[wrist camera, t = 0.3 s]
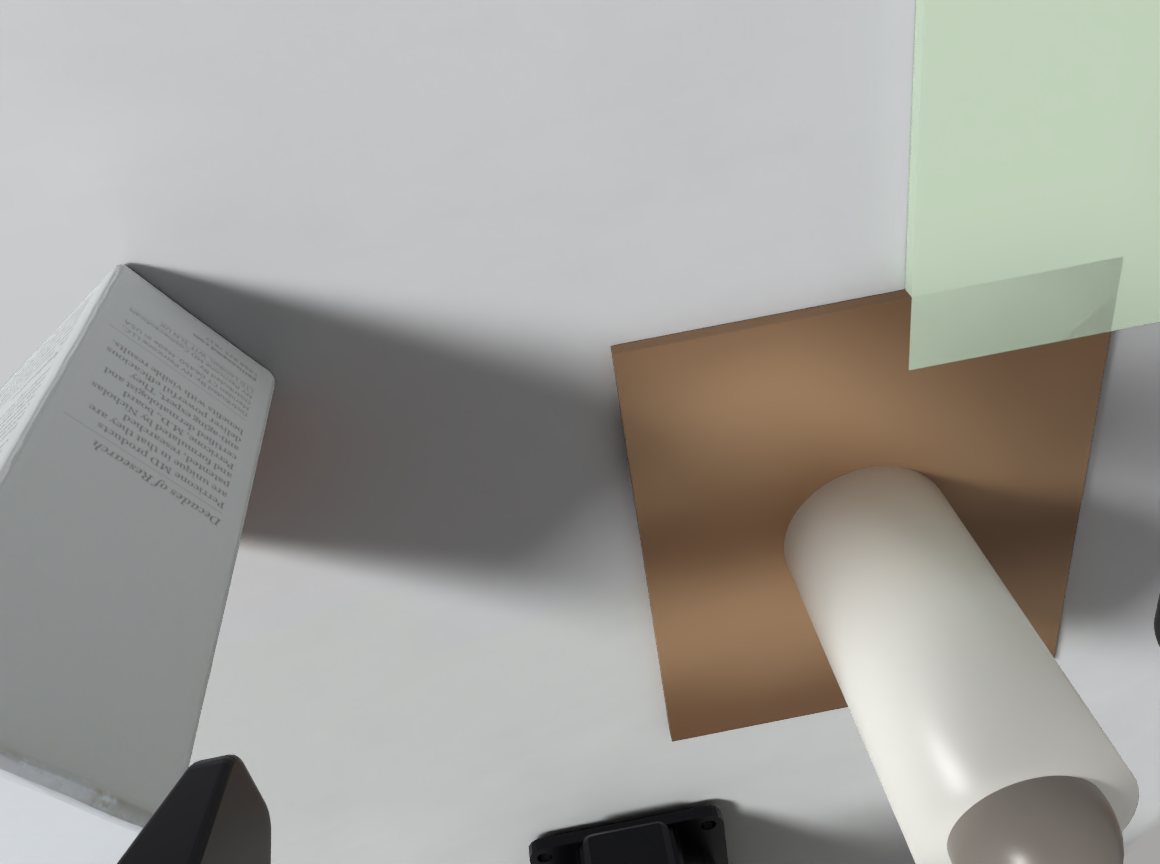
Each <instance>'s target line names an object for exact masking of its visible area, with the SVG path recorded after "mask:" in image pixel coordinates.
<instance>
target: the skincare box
mask: <svg viewBox="0 0 1160 864" xmlns="http://www.w3.org/2000/svg"><path fill="white" fill-rule="evenodd" d="M274 387H275V379H274V377H273V375H272V374H271V373H270V371H269V370H267V369H266V368H264V367H263V366H262V365H260V364H259V363H257V362H256V361H254V360H253V359H252V358H250V357H249V356H247V355H246V354H245V353H243V352H242V351H241V350H239V349H238V348H236V347H235V346H234V345H232V344H231V343H230V342H228V341H227V340H226V339H224V338H223V337H221V336H220V335H219V334H217V333H216V332H215V331H213V330H212V329H210V328H209V327H208V326H206V325H205V324H204V323H202V322H201V321H200V320H198V319H197V318H195V317H194V316H193V315H191V314H190V313H188V312H187V311H186V310H184V309H183V308H182V307H181V306H179V305H178V304H177V303H175V302H174V301H172V300H171V299H170V298H168V297H167V296H166V295H165V294H163V293H162V292H161V291H159V290H158V289H157V288H155V287H154V286H153V285H151V284H150V283H148V282H147V281H146V280H144V279H143V278H142V277H140V276H139V275H138V274H136V273H135V272H134V271H132V270H131V269H130V268H128V267H127V266H125V265H117V266H116V267H115V268H113V269H112V271H111V272H110V273H109V274H108V275H107V276H106V277H105V278H104V279H103V280H102V281H101V282H100V283H99V284H98V285H97V287H96V288H95V289H94V290H93V291H92V292H91V293H90V294H89V295H88V296H87V297H86V298H85V299H84V300H83V301H82V303H81V304H80V305H79V306H78V307H77V308H76V309H75V310H74V311H73V312H72V313H71V314H70V315H69V317H68V318H67V319H66V320H65V321H64V322H63V323H62V324H61V325H60V326H59V327H58V328H57V330H56V331H55V332H54V333H53V334H52V335H51V336H50V337H49V338H48V339H47V340H46V341H45V342H44V344H43V345H42V346H41V347H40V348H39V349H38V350H37V351H36V352H35V353H34V354H33V355H32V356H31V357H30V359H29V360H28V361H27V362H26V363H25V364H24V365H23V366H22V367H21V368H20V369H19V370H18V372H17V373H16V374H15V375H14V376H13V377H12V378H11V379H10V380H9V381H8V382H7V383H6V385H5V386H4V387H3V388H2V389H1V390H0V864H117V863H118V861H119V860H120V859H121V857H122V856H123V855H124V853H125V852H126V850H127V849H128V848H129V846H130V845H131V844H132V842H133V841H134V840H135V838H136V837H137V836H138V834H139V833H140V832H141V830H142V829H143V828H144V826H145V825H146V824H147V822H148V821H149V819H150V818H151V817H152V815H153V814H154V813H155V811H156V810H157V809H158V807H159V806H160V805H161V803H162V802H163V801H164V799H165V798H166V797H167V795H168V794H169V793H170V791H171V790H172V789H173V787H174V786H175V784H176V783H177V782H178V780H179V779H180V778H181V776H182V775H183V774H184V772H185V771H186V770H187V769H188V767H189V763H190V759H191V754H192V750H193V745H194V740H195V736H196V732H197V727H198V723H199V718H200V714H201V709H202V705H203V701H204V696H205V692H206V688H207V683H208V679H209V675H210V671H211V667H212V662H213V657H214V652H215V648H216V644H217V639H218V635H219V631H220V627H221V623H222V618H223V613H224V609H225V605H226V601H227V596H228V592H229V587H230V583H231V578H232V574H233V569H234V565H235V561H236V557H237V553H238V548H239V544H240V539H241V534H242V530H243V526H244V522H245V517H246V513H247V508H248V503H249V499H250V494H251V490H252V486H253V480H254V477H255V473H256V468H257V463H258V458H259V455H260V450H261V446H262V441H263V437H264V432H265V429H266V422H267V418H268V414H269V409H270V405H271V400H272V396H273V391H274Z"/></svg>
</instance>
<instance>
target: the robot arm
mask: <svg viewBox="0 0 1160 864" xmlns="http://www.w3.org/2000/svg"><path fill="white" fill-rule="evenodd" d="M1154 630H1155V635H1156V639H1157V641H1158V644H1159V646H1160V595H1159V600H1158V604H1157V609H1156V614H1155V619H1154ZM529 857H530V863H531V864H728V857H727V849H726V840H725V831H724V823H723V819H722V815H721V812H720V809H719V808H717V807H716V806H711V805H708V806H701V807H696V808H691V809H686V810H681V811H676V812H671V813H666V814H661V815H656V816H651V817H646V818H641V819H636V820H631V821H626V822H621V823H615V824H610V825H605V826H600V827H595V828H590V829H585V830H580V831H575V832H570V833H565V834H560V835H555V836H550V837H545V838H540V839H537V840H535V841H533V842H532V843H531V844H530V846H529ZM117 864H271V822H270V816H269V811H268V808H267V806H266V803H265V801H264V799H263V798H262V796H261V794H260V792H259V790H258V788H257V787H256V785H255V783H254V781H253V779H252V777H251V776H250V774H249V772H248V770H247V768H246V766H245V765H244V763H243V762H242V760H241V759H240V758H239V757H237V756H236V755H225V756H220V757H215V758H210V759H205V760H201V761H197V762H195V763H194V764H192V765H191V766H190V767H189V768H188V769H187V770H186V771H185V772H184V774H183V775H182V776H181V778H180V779H179V780H178V782H177V783H176V784H175V786H174V787H173V789H172V790H171V791H170V793H169V794H168V795H167V797H166V798H165V799H164V801H163V802H162V803H161V805H160V806H159V807H158V809H157V810H156V811H155V813H154V814H153V815H152V817H151V818H150V819H149V821H148V822H147V824H146V825H145V826H144V828H143V829H142V830H141V832H140V833H139V834H138V836H137V837H136V838H135V840H134V841H133V842H132V844H131V845H130V846H129V848H128V849H127V850H126V852H125V853H124V855H123V856H122V857H121V859H120V860H119V861H118V863H117Z"/></svg>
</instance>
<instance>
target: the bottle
mask: <svg viewBox="0 0 1160 864" xmlns="http://www.w3.org/2000/svg"><path fill="white" fill-rule="evenodd" d="M784 555H785V560H786V563H787V566H788V568H789V570H790V573H791V575H792V577H793V580H794V582H795V584H796V587H797V589H798V591H799V594H800V596H801V598H802V600H803V603H804V605H805V607H806V610H807V612H808V614H809V617H810V619H811V621H812V624H813V626H814V628H815V631H816V633H817V635H818V638H819V640H820V642H821V645H822V647H823V649H824V652H825V654H826V656H827V659H828V661H829V663H830V666H831V668H832V670H833V673H834V675H835V677H836V680H837V682H838V684H839V687H840V689H841V691H842V694H843V696H844V698H845V701H846V703H847V705H848V707H849V710H850V712H851V714H852V717H853V719H854V721H855V724H856V726H857V728H858V731H859V733H860V735H861V738H862V740H863V742H864V745H865V747H866V749H867V752H868V754H869V756H870V759H871V761H872V763H873V766H874V768H875V770H876V773H877V775H878V777H879V780H880V782H881V784H882V787H883V789H884V791H885V794H886V796H887V798H888V801H889V803H890V805H891V808H892V810H893V812H894V815H895V817H896V819H897V821H898V824H899V826H900V828H901V831H902V833H903V835H904V838H905V840H906V842H907V845H908V847H909V849H910V852H911V854H912V856H913V859H914V861H915V863H916V864H1123V858H1124V849H1123V837H1122V832H1123V830H1124V829H1125V828H1126V826H1127V825H1128V824H1129V822H1130V820H1131V819H1132V817H1133V815H1134V813H1135V810H1136V808H1137V805H1138V799H1139V788H1138V784H1137V781H1136V779H1135V777H1134V776H1133V774H1132V773H1131V771H1130V770H1129V768H1128V767H1127V765H1126V764H1125V762H1124V761H1123V759H1122V758H1121V756H1120V755H1119V753H1118V752H1117V750H1116V749H1115V747H1114V746H1113V744H1112V743H1111V742H1110V740H1109V739H1108V737H1107V736H1106V734H1105V733H1104V731H1103V730H1102V728H1101V727H1100V725H1099V724H1098V722H1097V721H1096V719H1095V718H1094V716H1093V715H1092V713H1091V712H1090V711H1089V709H1088V708H1087V706H1086V705H1085V703H1084V702H1083V700H1082V699H1081V697H1080V696H1079V694H1078V693H1077V691H1076V690H1075V688H1074V687H1073V685H1072V684H1071V682H1070V681H1069V679H1068V678H1067V677H1066V675H1065V674H1064V672H1063V671H1062V669H1061V668H1060V666H1059V665H1058V663H1057V662H1056V660H1055V659H1054V657H1053V656H1052V654H1051V653H1050V651H1049V650H1048V648H1047V647H1046V646H1045V644H1044V643H1043V641H1042V640H1041V638H1040V637H1039V635H1038V634H1037V632H1036V631H1035V629H1034V628H1033V626H1032V625H1031V623H1030V622H1029V620H1028V619H1027V617H1026V616H1025V615H1024V613H1023V612H1022V610H1021V609H1020V607H1019V606H1018V604H1017V603H1016V601H1015V600H1014V598H1013V597H1012V595H1011V594H1010V592H1009V591H1008V589H1007V588H1006V586H1005V585H1004V584H1003V582H1002V581H1001V579H1000V578H999V576H998V575H997V573H996V572H995V570H994V569H993V567H992V566H991V564H990V563H989V561H988V560H987V558H986V557H985V555H984V554H983V552H982V551H981V550H980V548H979V547H978V545H977V544H976V542H975V541H974V539H973V538H972V536H971V535H970V533H969V532H968V530H967V529H966V527H965V526H964V524H963V523H962V521H961V520H960V519H959V517H958V516H957V514H956V513H955V511H954V510H953V508H952V507H951V505H950V504H949V502H948V501H947V499H946V498H945V496H944V495H943V493H942V492H941V490H940V489H939V488H938V486H937V485H936V484H935V483H934V482H933V481H932V480H930V479H929V478H928V477H926V476H925V475H923V474H921V473H919V472H916V471H914V470H911V469H907V468H902V467H894V466H877V467H870V468H865V469H861V470H857V471H854V472H851V473H848V474H845V475H843V476H841V477H838V478H836V479H834V480H832V481H831V482H829V483H827V484H826V485H824V486H823V487H821V488H820V489H818V490H817V491H816V492H814V493H813V494H812V495H811V496H810V497H809V498H808V499H807V500H806V501H805V502H804V503H803V504H802V505H801V506H800V507H799V509H798V510H797V512H796V513H795V515H794V516H793V518H792V520H791V522H790V524H789V526H788V529H787V531H786V535H785V540H784Z"/></svg>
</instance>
